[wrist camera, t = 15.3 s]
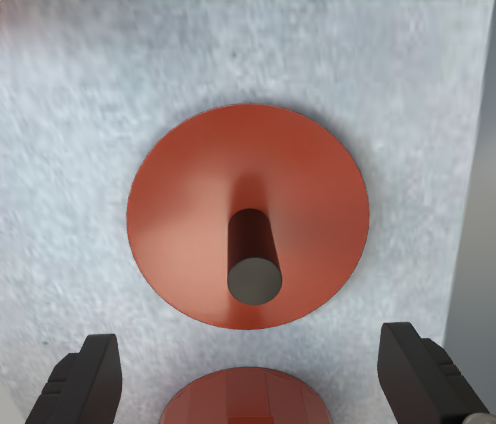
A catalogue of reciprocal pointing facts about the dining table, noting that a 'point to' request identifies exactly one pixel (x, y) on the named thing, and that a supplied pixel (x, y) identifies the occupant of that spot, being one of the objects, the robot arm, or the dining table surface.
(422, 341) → the robot arm
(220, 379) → the pan
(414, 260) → the dining table surface
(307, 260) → the lid
